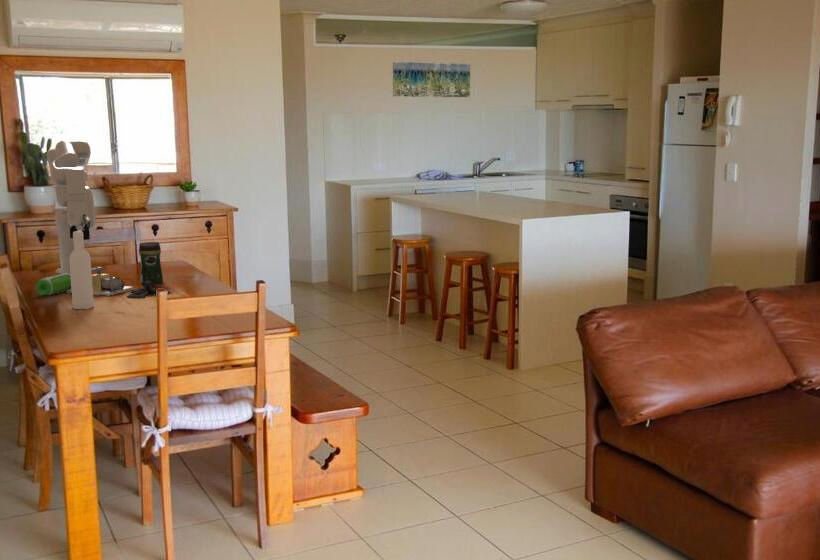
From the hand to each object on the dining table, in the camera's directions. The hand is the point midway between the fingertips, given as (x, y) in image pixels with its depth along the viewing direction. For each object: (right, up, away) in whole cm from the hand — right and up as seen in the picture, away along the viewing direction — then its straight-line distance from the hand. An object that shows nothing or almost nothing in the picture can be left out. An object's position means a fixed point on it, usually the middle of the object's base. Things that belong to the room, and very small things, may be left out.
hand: (80, 238), depth 370 cm
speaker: (-12, -23, +6) cm, 27 cm away
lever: (+4, -16, +1) cm, 16 cm away
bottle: (+11, -28, -27) cm, 41 cm away
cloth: (+30, -24, +1) cm, 38 cm away
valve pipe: (+6, -22, +8) cm, 24 cm away
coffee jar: (+22, -19, +27) cm, 40 cm away
